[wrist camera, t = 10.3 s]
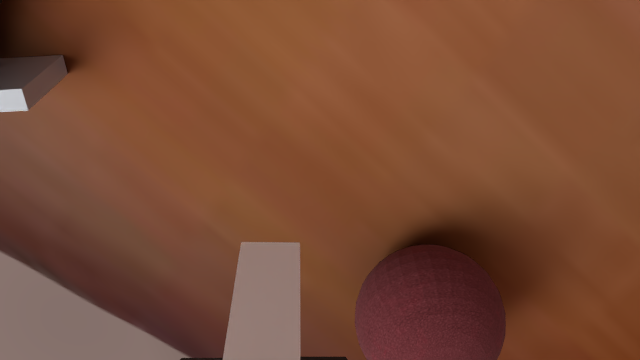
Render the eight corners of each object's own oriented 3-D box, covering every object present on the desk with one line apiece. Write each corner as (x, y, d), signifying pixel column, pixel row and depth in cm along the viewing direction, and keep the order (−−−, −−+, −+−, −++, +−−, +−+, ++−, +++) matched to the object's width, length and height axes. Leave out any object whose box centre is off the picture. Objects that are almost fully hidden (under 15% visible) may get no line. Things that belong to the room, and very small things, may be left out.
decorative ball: (335, 235, 43) (343, 332, 34) (472, 202, 42) (517, 294, 33) (366, 335, 48) (380, 444, 39) (491, 308, 47) (534, 413, 38)
